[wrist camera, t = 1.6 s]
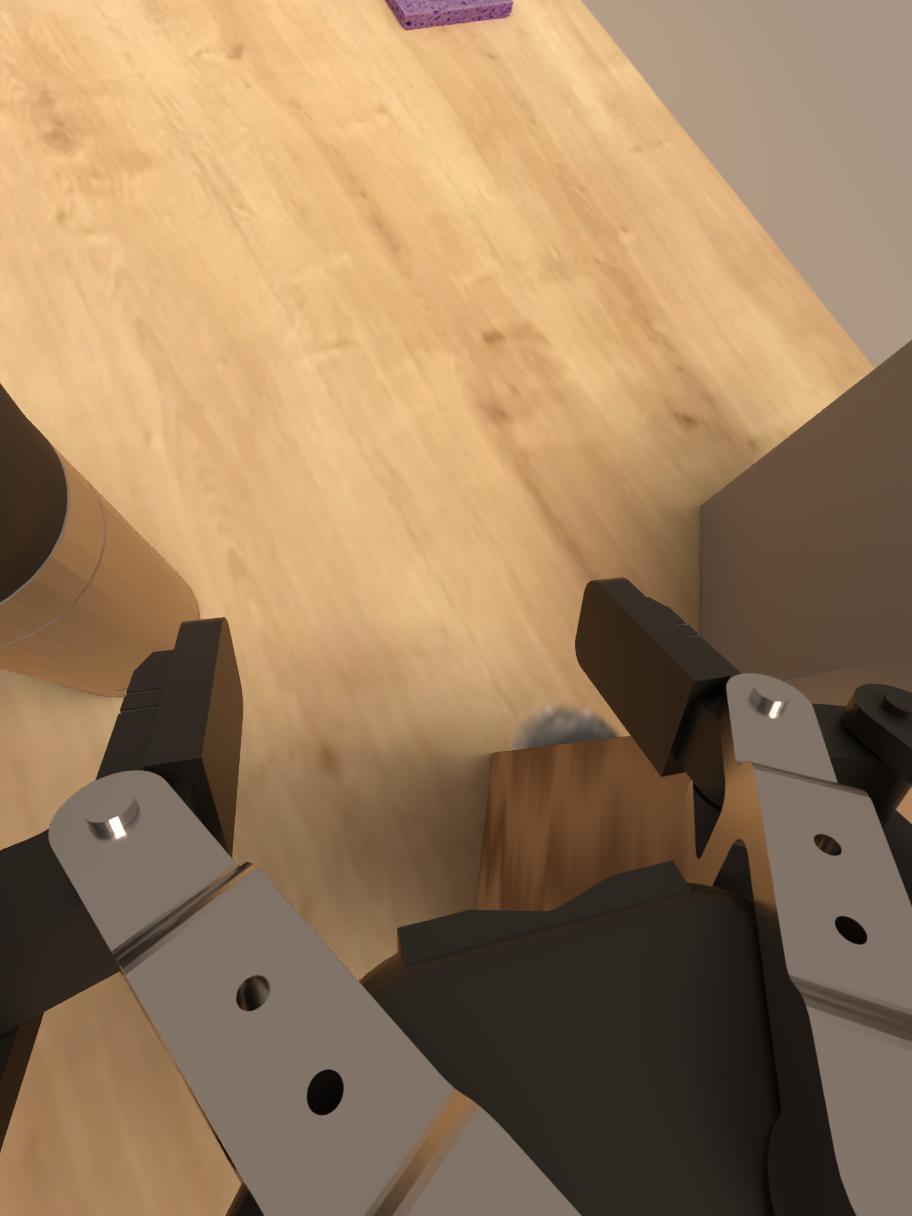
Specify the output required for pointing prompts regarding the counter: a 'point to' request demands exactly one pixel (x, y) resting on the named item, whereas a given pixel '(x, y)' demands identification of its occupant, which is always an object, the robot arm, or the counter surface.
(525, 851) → the wood grain block
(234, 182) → the counter surface
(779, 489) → the stand
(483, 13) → the sponges
